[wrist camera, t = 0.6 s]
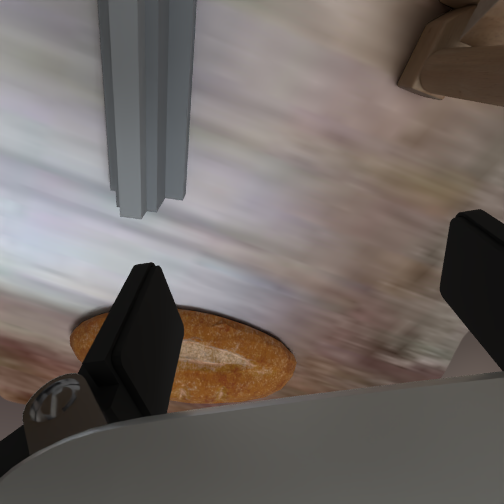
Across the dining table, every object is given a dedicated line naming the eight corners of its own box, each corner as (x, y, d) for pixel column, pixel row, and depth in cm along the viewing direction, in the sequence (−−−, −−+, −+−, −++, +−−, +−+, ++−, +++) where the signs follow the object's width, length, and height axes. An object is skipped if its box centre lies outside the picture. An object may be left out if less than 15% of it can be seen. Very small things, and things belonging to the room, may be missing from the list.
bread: (278, 393, 59) (283, 443, 51) (77, 364, 54) (49, 415, 46) (310, 324, 50) (321, 372, 42) (73, 283, 45) (38, 328, 38)
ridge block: (103, -39, 27) (56, -72, 21) (197, -20, 28) (182, -45, 21) (116, 184, 38) (88, 212, 31) (185, 194, 38) (172, 223, 31)
